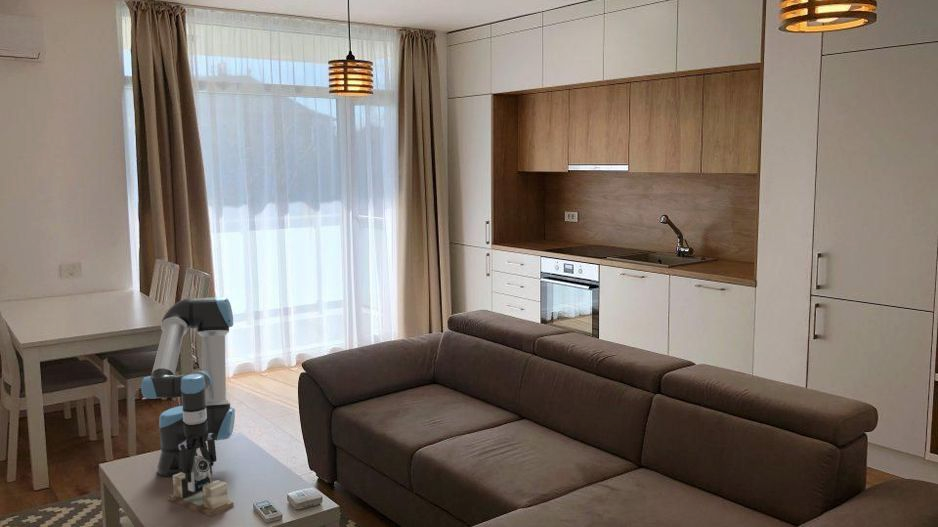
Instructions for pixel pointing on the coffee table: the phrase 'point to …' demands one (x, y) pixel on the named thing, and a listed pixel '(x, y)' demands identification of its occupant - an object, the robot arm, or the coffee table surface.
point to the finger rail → (201, 496)
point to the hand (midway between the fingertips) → (199, 487)
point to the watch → (200, 472)
